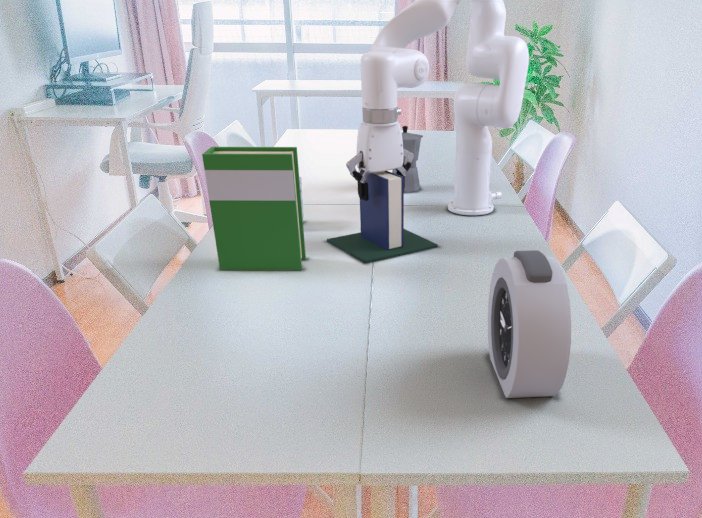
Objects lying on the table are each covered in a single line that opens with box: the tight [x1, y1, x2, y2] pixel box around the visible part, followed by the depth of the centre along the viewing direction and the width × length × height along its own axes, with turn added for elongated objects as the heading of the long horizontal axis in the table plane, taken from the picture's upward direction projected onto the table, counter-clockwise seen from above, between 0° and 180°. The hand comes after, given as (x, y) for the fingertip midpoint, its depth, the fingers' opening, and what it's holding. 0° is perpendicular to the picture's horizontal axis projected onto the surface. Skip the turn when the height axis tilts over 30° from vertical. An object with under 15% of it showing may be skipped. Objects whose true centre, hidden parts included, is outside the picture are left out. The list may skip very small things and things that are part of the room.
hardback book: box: [201, 146, 307, 271], centre depth 140 cm, size 18×7×24 cm, turn 90°
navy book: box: [358, 168, 405, 250], centre depth 154 cm, size 4×12×16 cm, turn 34°
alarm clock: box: [487, 249, 572, 399], centre depth 100 cm, size 21×8×20 cm, turn 5°
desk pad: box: [326, 228, 439, 264], centre depth 158 cm, size 20×18×1 cm
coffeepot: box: [391, 125, 424, 194], centre depth 196 cm, size 15×9×18 cm, turn 129°
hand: (381, 195), depth 152 cm, fingers open, 9 cm apart
